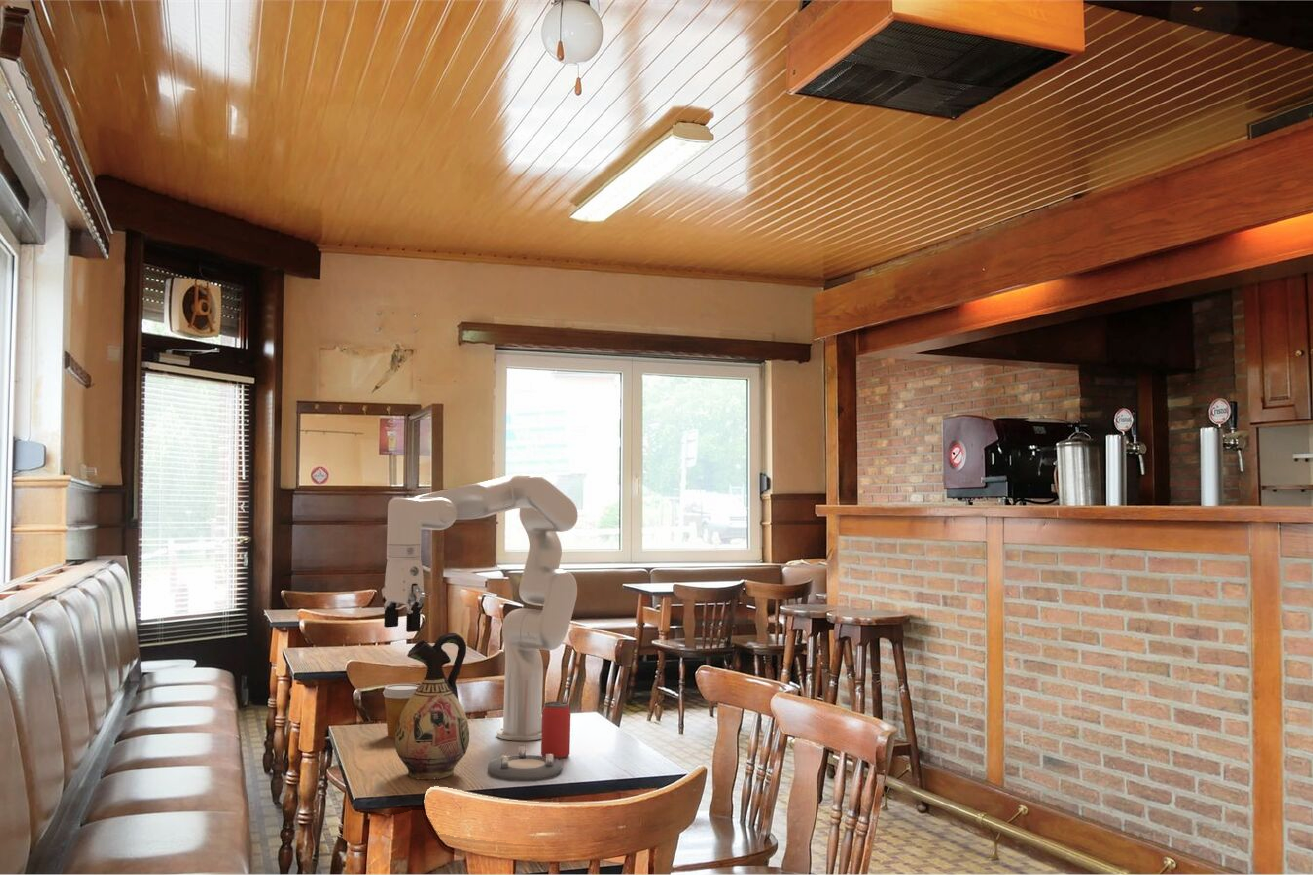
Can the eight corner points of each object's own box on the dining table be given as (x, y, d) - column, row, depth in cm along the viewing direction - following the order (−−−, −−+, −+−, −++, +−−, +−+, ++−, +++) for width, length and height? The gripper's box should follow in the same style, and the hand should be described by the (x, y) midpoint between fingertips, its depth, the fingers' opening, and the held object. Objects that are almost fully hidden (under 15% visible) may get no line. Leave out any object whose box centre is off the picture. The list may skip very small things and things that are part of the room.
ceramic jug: (400, 787, 208) (406, 637, 210) (388, 769, 222) (393, 629, 225) (483, 780, 215) (487, 635, 217) (466, 763, 229) (470, 627, 231)
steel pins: (522, 756, 230) (523, 745, 230) (554, 766, 222) (554, 754, 222) (485, 763, 223) (486, 751, 223) (517, 773, 215) (517, 761, 215)
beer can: (573, 754, 239) (575, 702, 240) (562, 760, 233) (563, 707, 234) (548, 751, 241) (549, 700, 242) (535, 758, 235) (537, 704, 236)
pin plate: (532, 758, 234) (532, 751, 235) (577, 772, 223) (577, 764, 223) (473, 769, 223) (473, 762, 223) (517, 784, 212) (517, 776, 212)
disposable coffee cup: (428, 735, 257) (430, 686, 258) (400, 741, 249) (402, 691, 250) (401, 730, 262) (403, 682, 263) (372, 736, 254) (374, 687, 255)
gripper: (438, 553, 228) (436, 631, 227) (399, 550, 241) (397, 624, 240) (408, 554, 223) (406, 634, 222) (370, 551, 235) (368, 626, 234)
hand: (402, 629), depth 231 cm, fingers open, 9 cm apart
